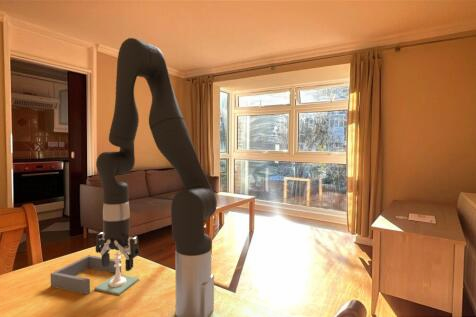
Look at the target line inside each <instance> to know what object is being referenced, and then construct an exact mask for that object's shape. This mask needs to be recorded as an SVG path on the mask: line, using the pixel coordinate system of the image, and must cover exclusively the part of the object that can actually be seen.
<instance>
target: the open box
mask: <svg viewBox="0 0 476 317" xmlns="http://www.w3.org/2000/svg"><path fill="white" fill-rule="evenodd" d="M115 264H116V263H115V260H114V258H110V264H109V265H108V266H107V267H103V265H102V256H98V255H91V254H87V255H86V256H84V257H82V258H80V259H78V260H76V261H73V262H72V263H69V264H67V265H65V266H63V267H61V268H59V269H58V270H55V271H53V272H51V273H50V287H53V288H57V289H61V290H66V291H70V292H74V293H79V294H84V295H89V293H91V283H90V282H91V279H90V278H87V277H81V276H77V275H79V274H80V273H82V272H84V271H86V270H88V269H93V270H98V271H103V272H110V273H114V274H115V273H116V267H114V265H115ZM120 264H121V266H120V267H119V268H120V273H122V260H120Z"/></svg>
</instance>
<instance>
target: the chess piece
mask: <svg viewBox="0 0 476 317" xmlns="http://www.w3.org/2000/svg"><path fill="white" fill-rule="evenodd" d="M114 256H115V257H114V258H113V259H114V260H115V263H116V264H115V265H114V267H116V273H114V275H115V277H114V278H113V279H112V280H110V282H109V285H110V286H111V287H119V286H122V285H124V284H125V283H126V278H124V277H122V276H121V275H122V274H121V272H120V268H119V267H120V266H121V267H122V263H121V264H120V260H121V259H122V257H121V253H120V250H119V251H118V250H116V253H114ZM121 261H122V260H121Z"/></svg>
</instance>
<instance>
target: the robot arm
mask: <svg viewBox="0 0 476 317" xmlns="http://www.w3.org/2000/svg"><path fill="white" fill-rule="evenodd" d="M137 77H140V78H144V79H145V80H146V82H147V85H148V88H149V91H150V93H151V94H150V95H151V104H150V110H149V115H148V124H149V125H148V126H149V129H150V132H151V135H152V138H153V140H154V143H155V145H156V147H157V149H158V151H159V152H160V153H161V154H162V155H163V157H164V158H165V159H166V161H167V162H168V163H169V164H170V165H171V166H172V167H173V168H174V169H175V171H176V172H177V175H179V178H180V180H181V182H182V186H183V189H181V190H179V191H178V192H176V193H175V194H174V196H173V198H172V201H171V207H170V218H171V234H172V239H173V243H174V244H175V317H210V315H212V314H211V313H213V310H214V309H215V308H214V307H215V302H214V301H215V275H214V274H212V243H213V242H212V238H211V236H210V235H209V234H207V233H205V228H204V225H205V222H204V221H205V220H207V219H209V218H211V217H212V216H213V215H214V214H215V213H216V210H217V205H218V204H217V203H218V202H217V197H216V194H215V191H214V190H213V187H212V185H211V183H210V181H209V179H208V178H207V175H206V174H205V171H204V169H203V167H202V165H201V162H200V159H199V157H198V154H197V151H196V149H195V147H194V144H193V141H192V139H191V136H190V131H189V130H188V127H187V124H186V123H187V122H185V118H184V116H183V114H182V111H181V109H180V105H179V102H178V99H177V97H176V94H175V92H174V88H173V85H172V82H171V77H170V74H169V68H168V66H167V62H166V59H165V56H164V53H163V52H162V50H161V49H160V48H159V47H157V46H155V45H153V44H151V43H148V42H145V41H144V40H140V39H138V38H133V37H128V38H127V39H125V40H123V42H122V43H121V45H120V47H119V50H118V54H117V64H116V78H115V79H116V81H115V98H114V99H115V102H114V110H113V117H112V121H111V125H110V129H109V134H108V142H109V143H110V145H112V146H115V147H117V148H119V151H104V152H101V153H99V155H97V158H96V162H95V163H96V164H95V165H96V169H97V173H98V176H99V179H100V183H101V185H102V190H103V193H102V194H103V206H102V207H103V208H102V229H103V230H102V232H99V233H96V234H95V235H96V236H95V252H96V253H97V254H100V256H101V257H102V265H103V267H107V266H108V265H109V264H110V259H111V258H110V257H111V255H110V251H111V250H113V251H114V250H115V251H119V253H120V255H121V254H122V255H123V256H124V258H125V260H124V261H125V272H129V271H131V270H132V269H133V268H134V258H136V257H138V256H139V255H140V245H139V237H138V236H134V237H133V236H130V234H129V232H130V230H131V214H130V213H131V211H130V210H131V209H130V201H129V199H130V198H129V197H130V196H129V195H130V191H129V190H130V188H129V185H128V183H127V182H123V181H117V179H116V176H117V175H127V174H129V173H131V172H132V170H133V169H134V167H135V165H136V164H135V162H136V158H135V139H136V135H137V131H138V127H139V123H140V118H139V110H138V108H137V103H136V100H135V85H136V81H137Z"/></svg>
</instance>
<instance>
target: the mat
mask: <svg viewBox="0 0 476 317" xmlns="http://www.w3.org/2000/svg"><path fill="white" fill-rule="evenodd" d="M120 275H121V276H122V277H124V278H126V283H125V284H124V285H122V286H119V287H111V286H110V285H109V282H110V280H112V279H113V278H114V277H115V274H114V275H112V276H111V277H109V278H107V279H106V280H105V281H103V282H100V283H99V284H98V285H97V286H95V287H94V290H95V291H99V292H103V293H108V294H113V295H118V296H120V295H121V294H123V293H124V292H125V291H127V290H128V289H130V288H131V287H132V286H134V285H135V284H136V283H138V282H139V281H140V278H138V277H134V276H129V275H122V274H120Z"/></svg>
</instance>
